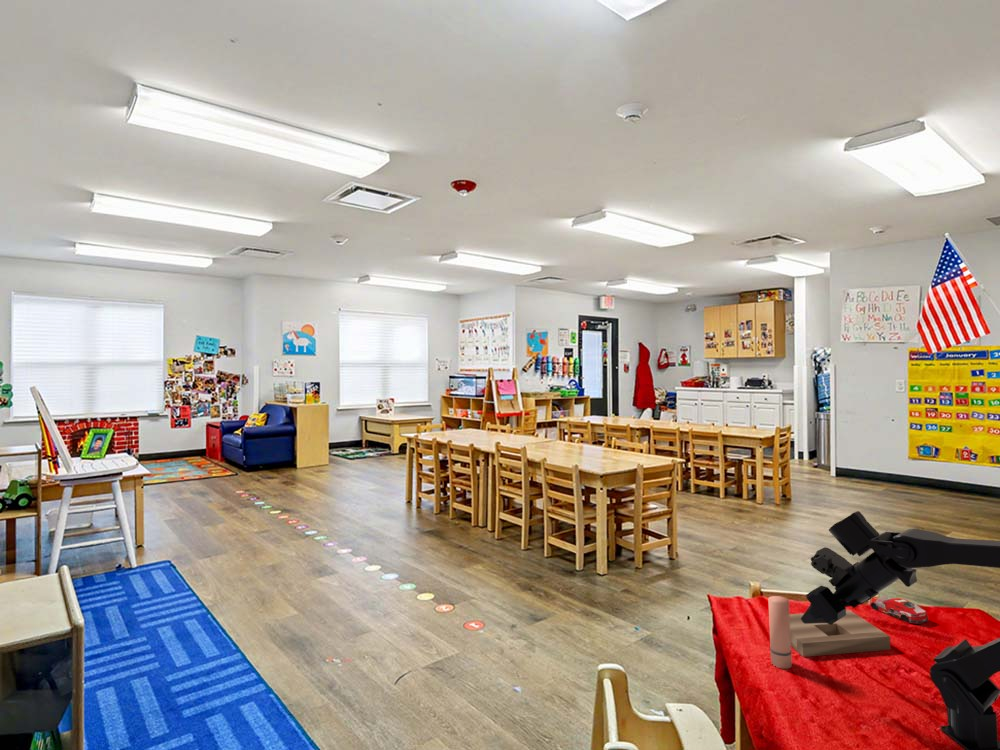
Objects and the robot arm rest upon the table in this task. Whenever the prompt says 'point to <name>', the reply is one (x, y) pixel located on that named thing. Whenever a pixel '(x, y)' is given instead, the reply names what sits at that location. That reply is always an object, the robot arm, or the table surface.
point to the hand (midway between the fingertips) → (814, 614)
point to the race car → (900, 609)
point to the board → (836, 636)
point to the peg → (780, 632)
